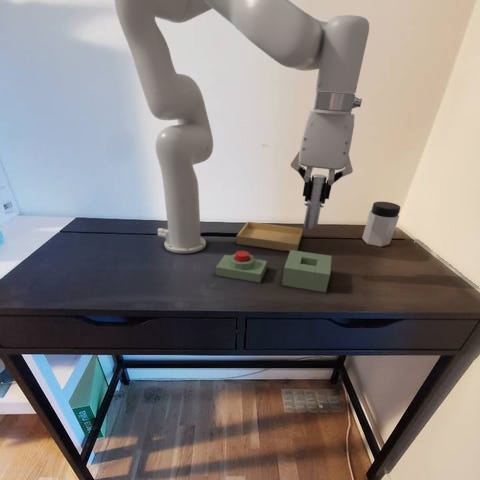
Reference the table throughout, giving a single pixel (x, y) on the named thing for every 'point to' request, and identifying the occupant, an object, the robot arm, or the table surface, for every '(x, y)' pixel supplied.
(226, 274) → the stop block
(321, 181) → the grey peg
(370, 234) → the jar
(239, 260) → the stop button
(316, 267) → the green slotted base
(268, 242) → the tray
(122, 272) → the table surface
